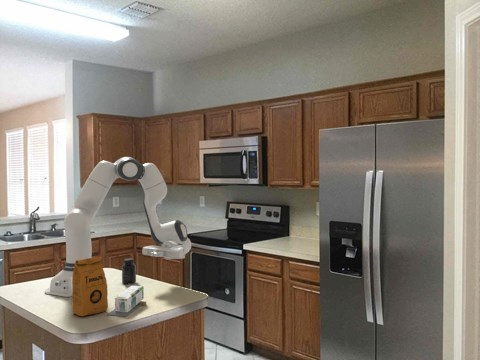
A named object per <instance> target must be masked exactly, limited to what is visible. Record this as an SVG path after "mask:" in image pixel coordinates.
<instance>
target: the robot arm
mask: <svg viewBox="0 0 480 360" xmlns="http://www.w3.org/2000/svg"><path fill="white" fill-rule="evenodd" d="M119 178H120V179H122V180H125V181H131V182H133V181H138V182H139V183H140V185H141V187H142V190H143V192H144V193H143V194H144V199H143V200H142V201H143V209H144V212H145V216H146V219H147V222H148V227H149V231H150V238H151V240H152V241H153V242H154V243H155V244H157V245H147V246H143V247H142V250H141V251H142V255H144V256H151V257H155V258H159V257H160V258H164V259H165V260H174V259H177V260H179V259H180V260H181V259H182V260H183V259H185V258H186V254H188V253H189V251H191V248H192V241H191V239H190V238H188V229H187V227H186V225H185V224H184V222H183V221H181V220H180V219H176V220H172V221H169V222H164V223H161V222H160V219H159V216H158V214H157V210H156V209H157V205H158V204H159V203H161V202H162V201H163V200H164V199H165V198H166V196H167V193H168V185H167V183H166V182H165V179H164V177H163V175H162V173H161V172H160V170H159V169H158V166H157V165H155V164H154V163H151V162H147V163H144V164H142V163H141V162H139V161H138V160H137V159H135V158H133V157H131V156H122V157H120V158H118V159H117V160H115V161H114V162H110V161H108V160H102V161H101V160H100V161H99V162H98V163H97V164H96V165H95V166H94V168H93V169H92V171H91V172H90V174H89V175H88V178H86V181H85V183H84V184H83V186H82V188H81V190H80V192H79V193H78V195H77V198H76V199H75V201H74V203H73V206H72V208H71V209H70V211H68V212H67V214H66V215H65V216H64V219H63V225H64V237H65V238H64V239H65V248H66V251H65V252H66V254H65V255H66V257H65V258H66V259H65V260H66V261H64V263H61V264H60V265H61V267H63V268H62V270H60V272H58V273H57V274H56V275H55V276H53V277H52V278H51V280H50V283H49V287H48V288H46V289H45V290H44V294H45V295H46V294H47V295H52V296H60V297H65V298H69V297H72V279H73V272H74V266H75V262H76V260H81V259H88V258H93V257H92V256H93V255H92V251H93V250H92V247H93V246H92V244H93V243H92V236H91V224H92V222H93V220H94V219H95V216H96V215H97V214H98V211H99V209H100V208H101V206H102V204H103V202H104V200H105V199H106V196H107V195H108V192H109V191H110V189H111V187H112V185H113V184H114V182H115V181H116V180H117V179H119Z"/></svg>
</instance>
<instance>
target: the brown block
mask: <svg viewBox="0 0 480 360" xmlns="http://www.w3.org/2000/svg"><path fill="white" fill-rule="evenodd" d="M137 305H141V306H146V305H147V301H143V300H142V301H140V302H139V303H138V304H137Z"/></svg>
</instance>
